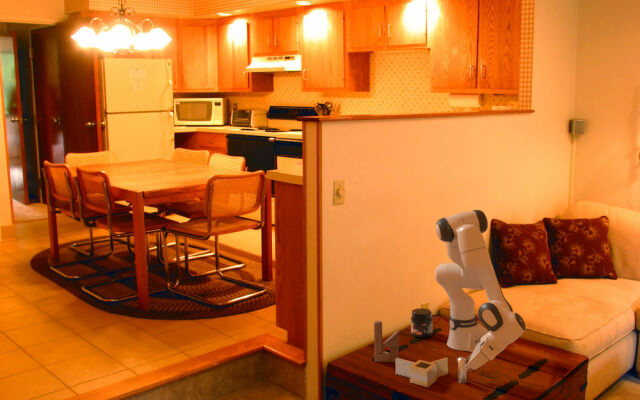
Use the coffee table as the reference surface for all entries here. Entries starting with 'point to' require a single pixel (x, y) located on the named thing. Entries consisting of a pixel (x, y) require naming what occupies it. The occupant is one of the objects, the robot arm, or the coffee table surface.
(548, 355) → the coffee table surface
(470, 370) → the key
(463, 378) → the rounded cylinder
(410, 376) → the cream winged socket block
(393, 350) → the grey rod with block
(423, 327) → the supplement container
